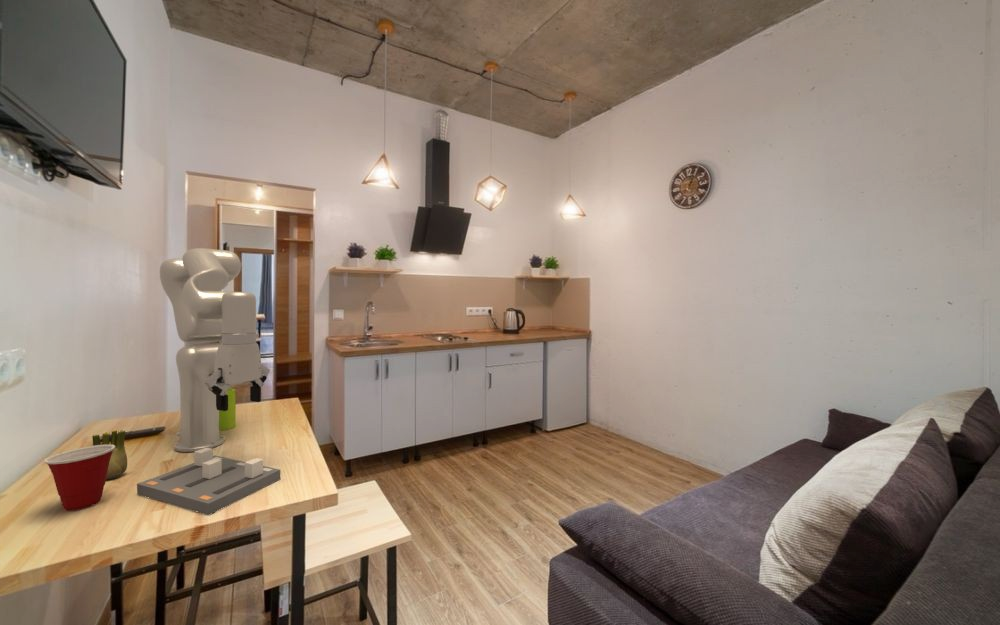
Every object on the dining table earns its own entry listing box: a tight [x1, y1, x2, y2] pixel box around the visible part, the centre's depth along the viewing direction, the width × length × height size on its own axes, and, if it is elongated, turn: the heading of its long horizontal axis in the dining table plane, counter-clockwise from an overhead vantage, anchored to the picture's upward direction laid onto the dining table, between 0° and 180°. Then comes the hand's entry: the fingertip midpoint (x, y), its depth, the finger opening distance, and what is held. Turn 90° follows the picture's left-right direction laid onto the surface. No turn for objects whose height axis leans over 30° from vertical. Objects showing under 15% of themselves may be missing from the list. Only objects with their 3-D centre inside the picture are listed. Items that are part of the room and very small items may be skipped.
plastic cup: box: [43, 444, 115, 512], centre depth 87 cm, size 11×11×12 cm
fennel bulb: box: [92, 429, 128, 481], centre depth 100 cm, size 6×5×12 cm
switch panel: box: [136, 454, 281, 516], centre depth 97 cm, size 24×18×3 cm
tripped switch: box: [202, 459, 222, 479], centre depth 96 cm, size 2×3×4 cm
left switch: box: [193, 448, 214, 466], centre depth 103 cm, size 2×3×4 cm
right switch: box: [244, 457, 264, 478], centre depth 97 cm, size 2×3×4 cm
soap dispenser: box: [219, 385, 237, 431], centre depth 138 cm, size 6×7×20 cm
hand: (239, 405), depth 103 cm, fingers open, 8 cm apart
